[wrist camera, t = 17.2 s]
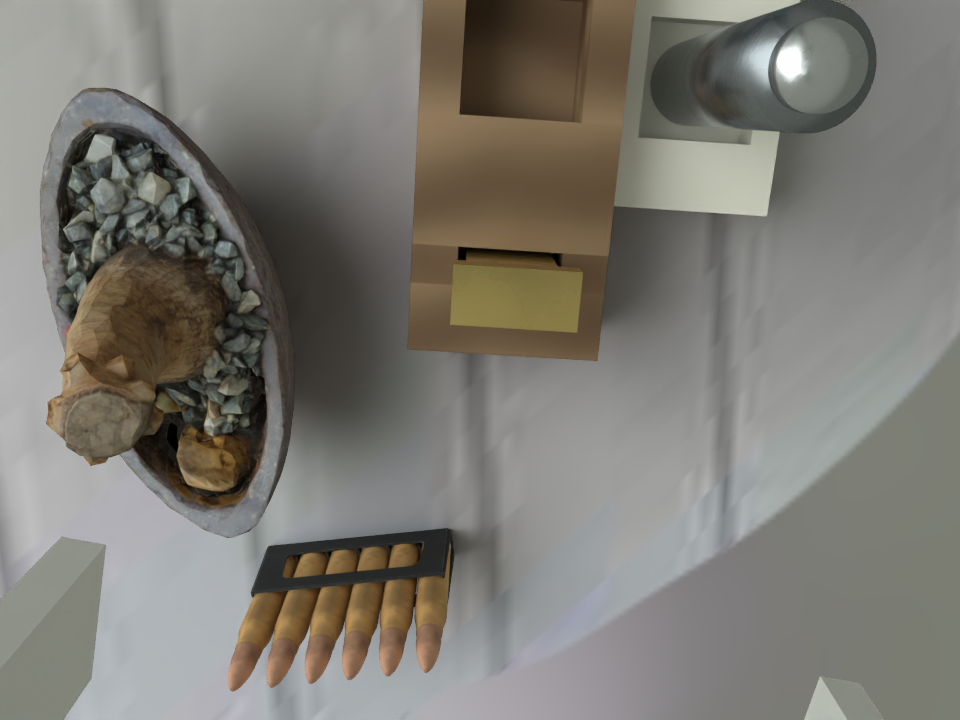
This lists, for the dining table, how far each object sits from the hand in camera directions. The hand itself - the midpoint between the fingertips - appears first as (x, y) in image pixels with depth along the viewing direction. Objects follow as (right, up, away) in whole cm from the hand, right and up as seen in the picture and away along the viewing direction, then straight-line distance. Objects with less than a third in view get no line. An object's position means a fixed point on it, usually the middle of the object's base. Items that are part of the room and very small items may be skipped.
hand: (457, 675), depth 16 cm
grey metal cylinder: (+11, +19, +27) cm, 35 cm away
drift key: (+2, +11, +28) cm, 30 cm away
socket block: (+2, +16, +29) cm, 33 cm away
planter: (-13, +10, +31) cm, 35 cm away
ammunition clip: (-6, -5, +35) cm, 36 cm away
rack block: (+11, +20, +28) cm, 36 cm away
